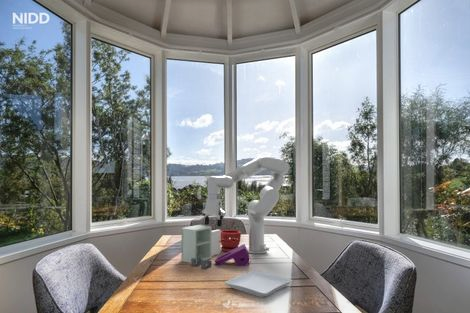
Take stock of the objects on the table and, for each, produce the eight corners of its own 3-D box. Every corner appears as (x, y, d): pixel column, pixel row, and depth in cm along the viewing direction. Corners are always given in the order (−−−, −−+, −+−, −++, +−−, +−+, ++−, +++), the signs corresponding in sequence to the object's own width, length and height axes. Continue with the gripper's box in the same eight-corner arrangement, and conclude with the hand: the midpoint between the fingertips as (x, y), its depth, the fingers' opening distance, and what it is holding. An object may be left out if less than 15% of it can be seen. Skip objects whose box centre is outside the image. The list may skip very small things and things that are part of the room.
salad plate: (253, 276, 148) (253, 269, 149) (293, 287, 135) (292, 279, 135) (223, 289, 132) (223, 281, 132) (265, 302, 119) (265, 293, 119)
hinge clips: (211, 266, 163) (211, 258, 163) (204, 269, 159) (204, 261, 159) (198, 263, 169) (198, 256, 169) (191, 266, 164) (191, 258, 164)
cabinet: (211, 258, 180) (211, 226, 181) (194, 263, 168) (195, 230, 169) (198, 255, 186) (198, 224, 187) (181, 260, 174) (181, 228, 175)
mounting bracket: (220, 277, 164) (251, 262, 164) (213, 263, 164) (244, 247, 165) (221, 272, 173) (251, 257, 174) (215, 258, 174) (244, 243, 174)
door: (217, 252, 193) (217, 229, 193) (221, 253, 191) (221, 230, 191) (206, 256, 184) (207, 231, 185) (211, 256, 182) (211, 232, 183)
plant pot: (240, 253, 191) (240, 233, 192) (219, 252, 192) (219, 233, 192) (240, 247, 204) (240, 229, 205) (220, 247, 205) (220, 229, 205)
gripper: (228, 197, 188) (228, 226, 187) (206, 195, 198) (206, 223, 197) (221, 197, 182) (220, 227, 180) (198, 196, 192) (198, 224, 191)
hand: (213, 225), depth 189 cm, fingers open, 9 cm apart
